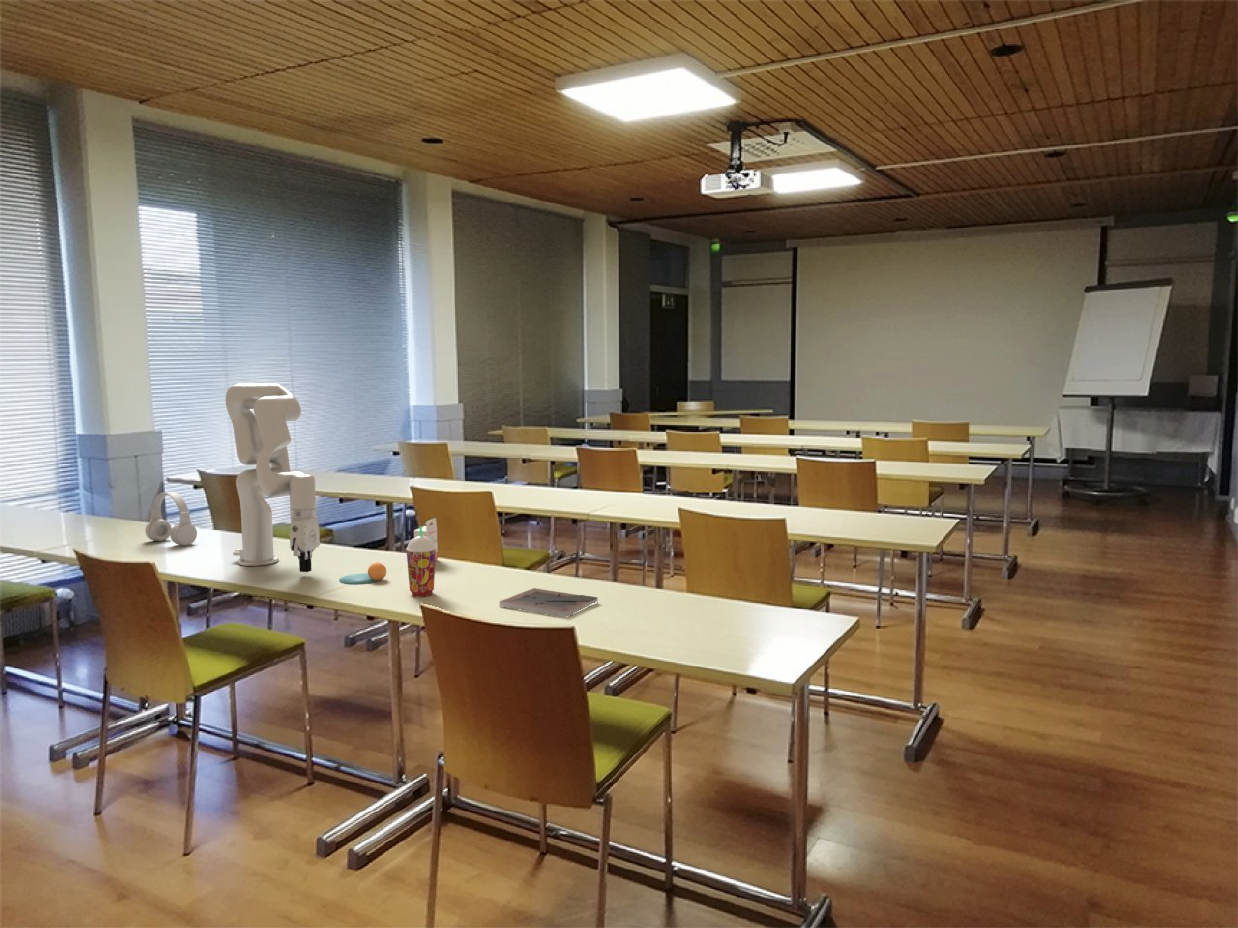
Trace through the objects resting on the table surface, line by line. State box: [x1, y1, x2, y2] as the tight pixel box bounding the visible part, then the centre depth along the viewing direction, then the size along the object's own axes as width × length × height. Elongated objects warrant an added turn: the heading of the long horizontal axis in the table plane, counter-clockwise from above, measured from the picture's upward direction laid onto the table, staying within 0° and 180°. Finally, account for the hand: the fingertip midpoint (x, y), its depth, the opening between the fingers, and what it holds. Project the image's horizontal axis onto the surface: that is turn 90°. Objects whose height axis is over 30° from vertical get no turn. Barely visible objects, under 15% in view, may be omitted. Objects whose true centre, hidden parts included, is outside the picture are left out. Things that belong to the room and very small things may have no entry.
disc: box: [338, 572, 383, 585], centre depth 262 cm, size 13×13×1 cm
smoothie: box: [405, 525, 436, 597], centre depth 244 cm, size 8×8×20 cm
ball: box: [367, 562, 387, 581], centre depth 261 cm, size 6×6×6 cm
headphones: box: [145, 491, 198, 547], centre depth 315 cm, size 20×8×19 cm, turn 60°
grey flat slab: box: [499, 587, 598, 618], centre depth 234 cm, size 16×2×22 cm
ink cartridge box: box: [413, 517, 439, 562], centre depth 285 cm, size 9×5×15 cm, turn 168°
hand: (305, 571), depth 266 cm, fingers closed
